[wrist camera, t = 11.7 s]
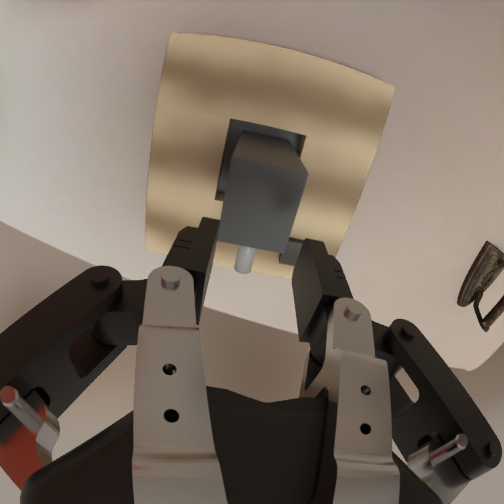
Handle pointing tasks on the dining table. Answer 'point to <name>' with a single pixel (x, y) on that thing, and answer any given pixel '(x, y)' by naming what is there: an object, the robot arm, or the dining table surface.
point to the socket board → (263, 122)
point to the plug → (261, 196)
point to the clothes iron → (483, 283)
